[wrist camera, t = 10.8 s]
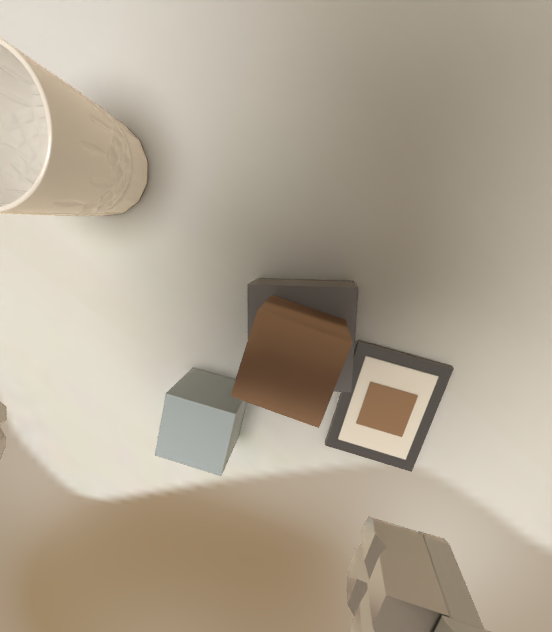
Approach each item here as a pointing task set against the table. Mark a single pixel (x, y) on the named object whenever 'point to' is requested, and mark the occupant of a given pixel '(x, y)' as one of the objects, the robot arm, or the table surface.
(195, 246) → the table surface
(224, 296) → the table surface
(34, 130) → the white cup
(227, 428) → the slate-blue block
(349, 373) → the charcoal base block
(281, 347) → the walnut block
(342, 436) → the card
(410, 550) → the robot arm
